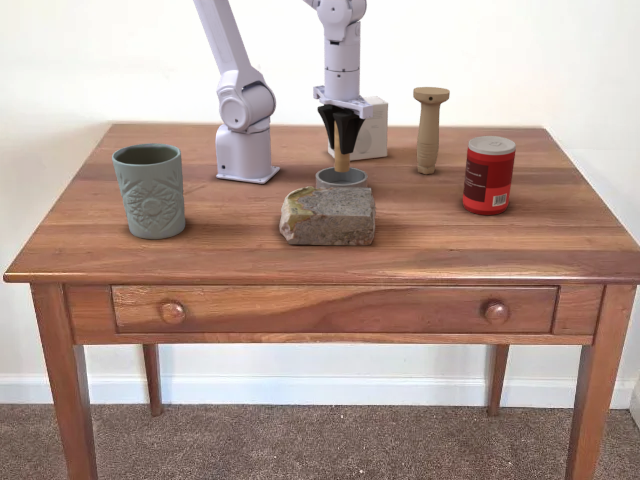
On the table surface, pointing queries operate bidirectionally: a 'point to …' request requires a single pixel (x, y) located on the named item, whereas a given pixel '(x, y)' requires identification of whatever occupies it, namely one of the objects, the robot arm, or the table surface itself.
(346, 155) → the stick
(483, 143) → the canned food
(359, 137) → the cosmetics box
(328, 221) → the geological specimen
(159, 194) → the drinking glass
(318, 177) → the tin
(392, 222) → the table surface
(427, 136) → the handle
